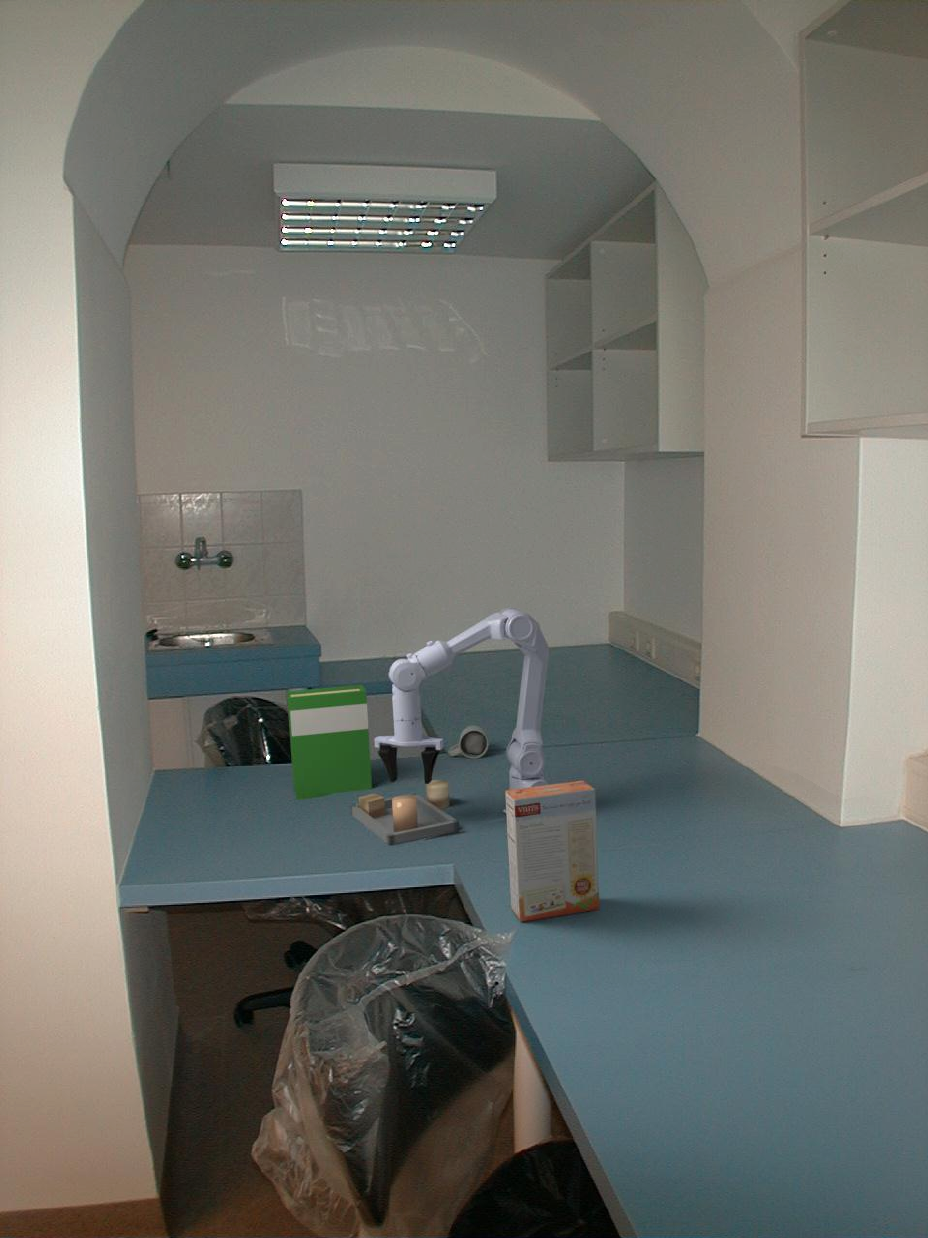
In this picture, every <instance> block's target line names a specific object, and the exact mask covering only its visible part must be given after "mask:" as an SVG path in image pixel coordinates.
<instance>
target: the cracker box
mask: <svg viewBox="0 0 928 1238" xmlns="http://www.w3.org/2000/svg"><path fill="white" fill-rule="evenodd" d="M504 793H505V809H506V813H505V815H506V831H507V832H506V833H507V848H508V850H507V852H508V866H509V868H508V869H509V870H508V871H509V886H510V887H509V888H510V892H509V893H510V907H511V910H512V912H513V913H514V914H515V916H516V917H517V918H518V920H519V921H520V922H529V921H533V920H540V919H547V918H551V917H559V916H566V915H571V914H572V915H573V914H577V913H584V912H591V911H596V910H600V884H599V883H600V882H599V881H600V878H599V855H598V854H599V853H598V852H599V851H598V849H599V848H598V831H597V830H598V829H597V806H596V805H597V803H596V789H595V787H592V786H591V785H590V784H588V783H587V782H586V781H585V780H577V781H569V782H560V783H554V784H553V783H552V784H549V785H545V786H537V787H529V788H521V789H513V790H510V789H508V790H505V792H504Z"/></svg>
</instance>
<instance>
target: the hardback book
mask: <svg viewBox="0 0 928 1238" xmlns="http://www.w3.org/2000/svg"><path fill="white" fill-rule="evenodd" d="M286 698H287V699H286V700H287V713H288V715H287V716H288V727H289V739H290V740H289V743H290V753H291V755H290V756H291V770H292V785H293V792H295V800H296V801H298V800H299V801H300V800H307V799H316V798H320V797H325V796H328V795H332V794H339V793H340V794H341V793H350V792H358V791H359V792H360V791H365V790H366V791H367V790H372V789H373V785H372V784H373V783H372V782H373V781H372V766H371V748H370V734H369V733H370V730H369V715H368V698H367V689H366V688H365V687H364V686H363V684H356V685H346V686H343V685H342V686H334V687H324V688H322V687H321V688H312V689H311V688H310V689H302V690H289V691H286Z"/></svg>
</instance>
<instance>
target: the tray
mask: <svg viewBox="0 0 928 1238" xmlns="http://www.w3.org/2000/svg"><path fill="white" fill-rule="evenodd" d="M407 795H410V796H414V797H416V800H417V821H418V828H414V829H410V830H405V831H400V832H394V828H393V809H392V799H393V798H394V797H395V796H393V797H387V798H384V801H385V816H382V817H379V818H375V819H373V818H372V817H371V816H369V815H368V814H367V813H365V812H364V811H363V810H362V809H360V808H359V803H356V804H351V805H349V812H350V815H351V816H353V818H355V819H356V820H357V821H358V822H360V823H361V824H362V825H363V826H364V827H365V828H367V829H368V830H369V831H371V832H372V833H373V834H375V836H377V837H378V838H379V839H380V840H382V841H383V843H386V844H387V845H388V846H393V845H398V844H402V843H407V842H412V841H417V840H422V839H425V841H427V840H433V839H436V838H441V837H445V836H446V837H447V836H451V835H455V834H459V833H460V822H459V821H458V820H457V819H456V818H454V817H453V816H452V815H449V814H448V813H447V812H445V811H443V810H442V809H439V808H437V807H436V806H434V805H433V804H431V803H429V802H428V801H427V799H425V798H423V797H422V796H420V795H419V794H417V793H415V792H414V793H409V794H407Z"/></svg>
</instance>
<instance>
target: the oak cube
mask: <svg viewBox="0 0 928 1238" xmlns="http://www.w3.org/2000/svg"><path fill="white" fill-rule="evenodd" d="M384 799H385V797H383V796H382V795H379V794H377V793H372V794H367V795H364V796H359V797H358V804H359V808H360V809H362V810H363V811H364V812H365V813H367V814H368V815H369V816H371V817H372V818H373V819H375V818H379V817H382V816H385V801H384Z"/></svg>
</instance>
